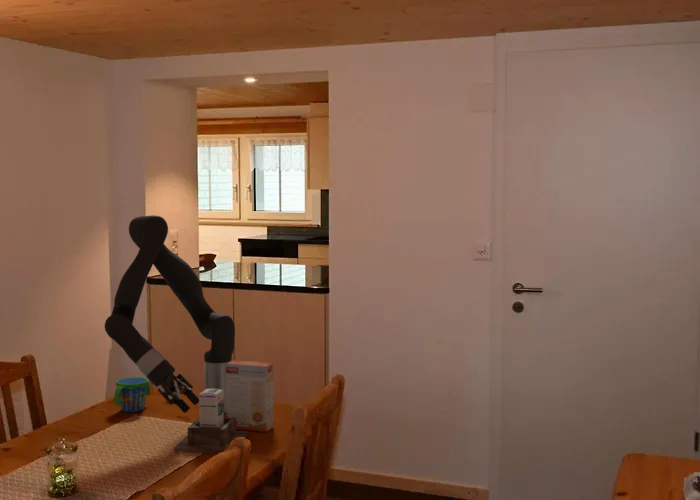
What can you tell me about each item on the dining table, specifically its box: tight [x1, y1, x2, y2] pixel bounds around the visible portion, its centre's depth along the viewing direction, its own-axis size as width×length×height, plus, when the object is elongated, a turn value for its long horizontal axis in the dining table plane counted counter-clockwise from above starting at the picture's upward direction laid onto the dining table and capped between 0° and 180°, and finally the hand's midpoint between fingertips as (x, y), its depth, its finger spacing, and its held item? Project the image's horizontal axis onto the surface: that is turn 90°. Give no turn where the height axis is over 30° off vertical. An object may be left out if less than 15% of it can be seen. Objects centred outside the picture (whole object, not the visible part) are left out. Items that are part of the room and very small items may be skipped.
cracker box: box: [226, 360, 275, 433], centre depth 236 cm, size 14×6×21 cm, turn 71°
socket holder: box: [173, 417, 249, 455], centre depth 222 cm, size 17×17×6 cm
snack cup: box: [113, 377, 151, 413], centre depth 256 cm, size 16×10×10 cm
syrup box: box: [198, 389, 225, 428], centre depth 221 cm, size 6×6×14 cm
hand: (192, 406), depth 222 cm, fingers open, 8 cm apart
